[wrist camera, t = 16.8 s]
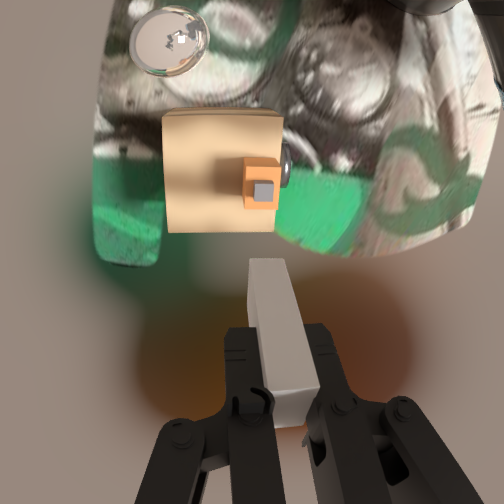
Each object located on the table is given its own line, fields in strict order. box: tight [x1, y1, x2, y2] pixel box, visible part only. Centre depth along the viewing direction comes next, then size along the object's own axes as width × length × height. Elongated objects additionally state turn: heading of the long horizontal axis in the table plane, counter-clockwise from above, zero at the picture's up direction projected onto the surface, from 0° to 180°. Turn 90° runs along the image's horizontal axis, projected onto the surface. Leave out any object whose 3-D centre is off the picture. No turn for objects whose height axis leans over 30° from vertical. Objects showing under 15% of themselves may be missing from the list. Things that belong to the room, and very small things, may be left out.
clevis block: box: [162, 107, 283, 233], centre depth 32 cm, size 12×11×8 cm
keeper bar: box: [242, 157, 282, 210], centre depth 27 cm, size 4×3×4 cm
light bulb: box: [129, 5, 210, 78], centre depth 23 cm, size 7×7×12 cm
